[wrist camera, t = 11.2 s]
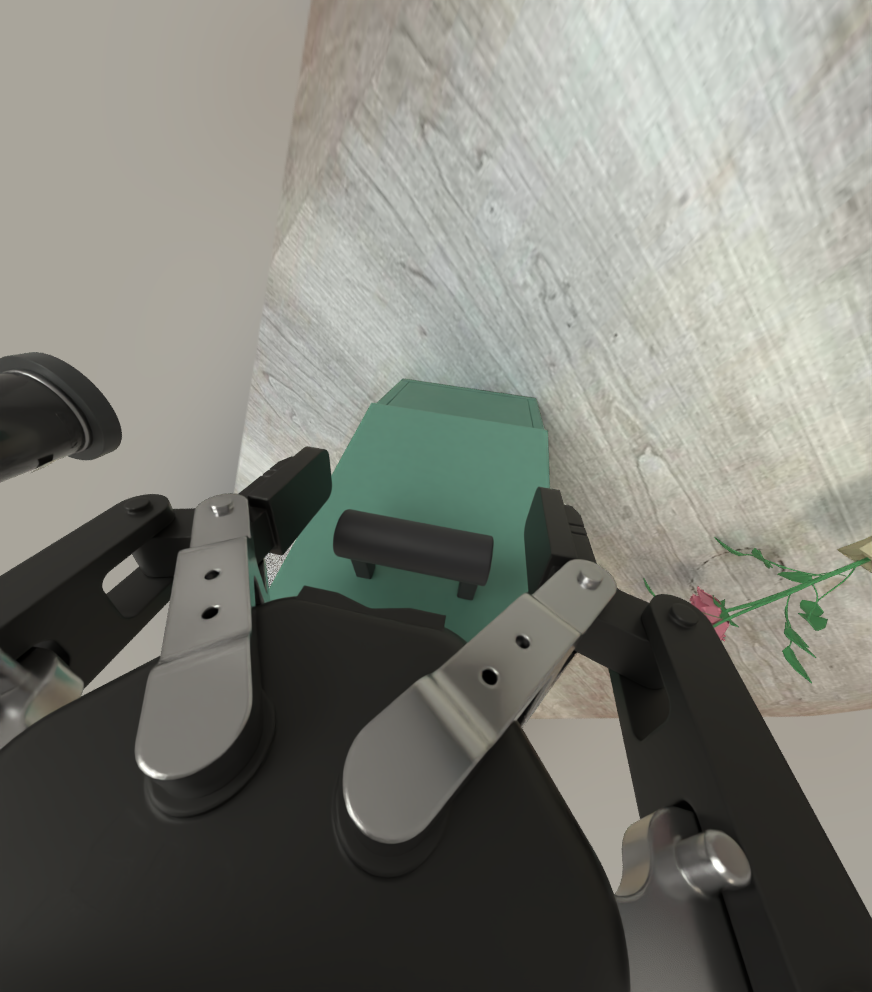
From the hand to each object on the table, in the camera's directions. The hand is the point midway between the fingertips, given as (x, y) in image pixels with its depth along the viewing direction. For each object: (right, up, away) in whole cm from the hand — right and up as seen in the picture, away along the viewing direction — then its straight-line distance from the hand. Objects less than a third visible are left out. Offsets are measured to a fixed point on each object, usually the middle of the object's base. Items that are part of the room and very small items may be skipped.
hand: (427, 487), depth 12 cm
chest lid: (0, -1, +5) cm, 6 cm away
